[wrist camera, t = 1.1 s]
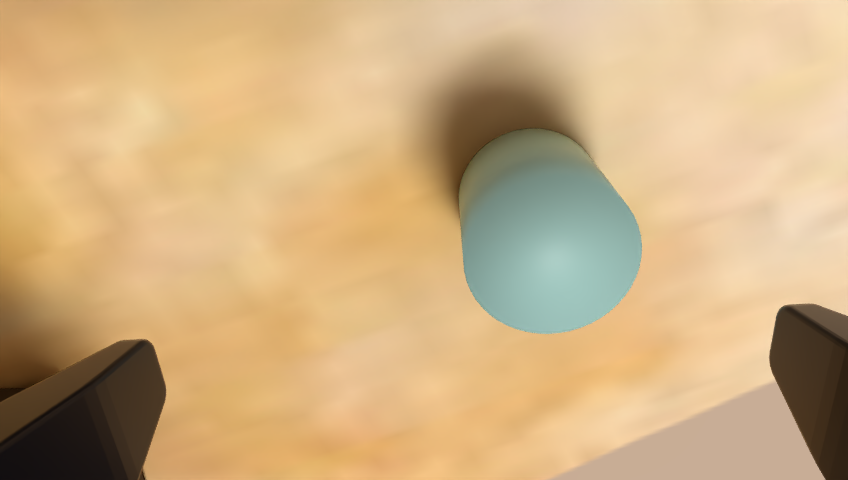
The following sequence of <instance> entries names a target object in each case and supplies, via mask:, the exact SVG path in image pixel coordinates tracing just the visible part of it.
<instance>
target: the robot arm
mask: <svg viewBox="0 0 848 480" xmlns="http://www.w3.org/2000/svg"><path fill="white" fill-rule="evenodd" d="M769 359H770V367H771V370H772V373H773V375H774V377H775V379H776V382H777V384H778V386H779V388H780V390H781V392H782V394H783V396H784V398H785V400H786V402H787V404H788V407H789V409H790V411H791V412H792V415H793V417H794V419H795V421H796V423H797V425H798V427H799V430H800V432H801V434H802V436H803V438H804V440H805V442H806V444H807V446H808V448H809V450H810V452H811V454H812V456H813V458H814V460H815V462H816V464H817V466H818V467H819V469H820V471H821V473H822V474H823V476H824V478H825V479H826V480H848V316H846V315H843V314H841V313H838V312H835V311H832V310H830V309H827V308H824V307H822V306H819V305H816V304H792V305H784V306H783V307H782V308H780V309H779V311H778V313H777V316H776V321H775V327H774V332H773V338H772V343H771V349H770V356H769ZM165 398H166V386H165V381H164V378H163V375H162V371H161V368H160V365H159V362H158V358H157V355H156V352H155V349H154V346H153V345H152V343H151V342H149V341H148V340H146V339H137V340H122V341H118V342H116V343H114V344H112V345H110V346H108V347H107V348H105V349H103V350H101V351H99V352H97V353H95V354H93V355H91V356H89V357H87V358H85V359H83V360H81V361H79V362H77V363H75V364H74V365H72V366H70V367H68V368H66V369H64V370H62V371H60V372H58V373H56V374H54V375H52V376H50V377H48V378H46V379H44V380H43V381H41V382H39V383H37V384H35V385H33V386H31V387H29V388H24V389H0V480H144V478H143V475H142V468H143V465H144V462H145V459H146V456H147V454H148V451H149V448H150V445H151V442H152V439H153V436H154V433H155V430H156V427H157V424H158V421H159V418H160V415H161V412H162V409H163V406H164V403H165Z"/></svg>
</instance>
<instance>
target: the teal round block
mask: <svg viewBox="0 0 848 480" xmlns="http://www.w3.org/2000/svg"><path fill="white" fill-rule="evenodd" d="M458 200H459V212H460V225H461V237H462V250H463V262H464V272H465V276H466V280H467V283H468V286H469V288H470V290H471V292H472V294H473V296H474V297H475V299H476V300H477V302H478V303H479V304H480V305H481V307H482V308H483V309H484V310H485V311H486V312H488V313H489V314H490V315H491V316H492V317H494V318H495V319H497V320H498V321H500V322H502V323H504V324H505V325H507V326H510V327H512V328H515V329H518V330H522V331H525V332H531V333H541V334H552V333H561V332H567V331H571V330H575V329H578V328H581V327H584V326H586V325H588V324H591V323H592V322H594V321H596V320H598V319H600V318H601V317H603V316H604V315H605V314H607V313H608V312H610V311H611V310H612V309H613V308H614V307H615V306H616V305H617V304H618V303H619V302H620V301H621V300H622V299H623V298H624V296H625V295H626V294H627V292H628V291H629V289H630V288H631V286H632V284H633V282H634V280H635V278H636V275H637V272H638V270H639V266H640V261H641V254H642V243H641V235H640V231H639V227H638V224H637V222H636V219H635V217H634V215H633V213H632V212H631V210H630V209H629V207H628V206H627V204H626V203H625V202H624V200H623V199H622V198H621V197H620V195H619V194H618V193H617V191H616V190H615V189H614V188H613V186H612V185H611V184H610V182H609V181H608V180H607V178H606V177H605V176H604V175H603V173H602V172H601V171H600V169H599V168H598V167H597V166H596V164H595V163H594V162H593V160H592V159H591V158H590V156H589V155H588V154H587V153H586V152H585V150H584V149H583V148H582V147H581V146H580V145H578V144H577V143H576V142H575V141H573V140H572V139H570V138H569V137H567V136H565V135H563V134H560V133H558V132H554V131H551V130H546V129H537V128H529V129H520V130H516V131H512V132H509V133H506V134H503V135H501V136H499V137H497V138H495V139H493V140H492V141H491V142H489V143H488V144H486V145H485V146H484V147H483V148H482V149H480V150H479V151H478V152H477V154H476V155H475V156H474V157H473V158H472V160H471V161H470V163H469V164H468V166H467V168H466V170H465V172H464V174H463V177H462V180H461V183H460V188H459V199H458Z"/></svg>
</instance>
